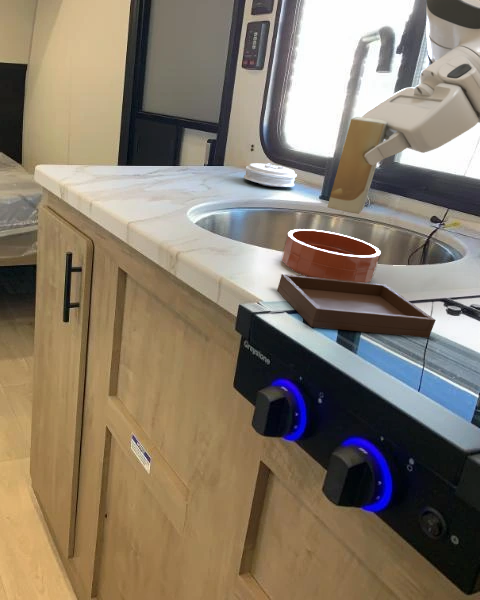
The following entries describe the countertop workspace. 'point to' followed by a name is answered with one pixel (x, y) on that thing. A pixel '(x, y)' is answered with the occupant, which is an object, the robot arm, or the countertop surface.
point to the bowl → (330, 255)
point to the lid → (270, 175)
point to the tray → (354, 306)
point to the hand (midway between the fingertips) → (355, 156)
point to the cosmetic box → (356, 165)
